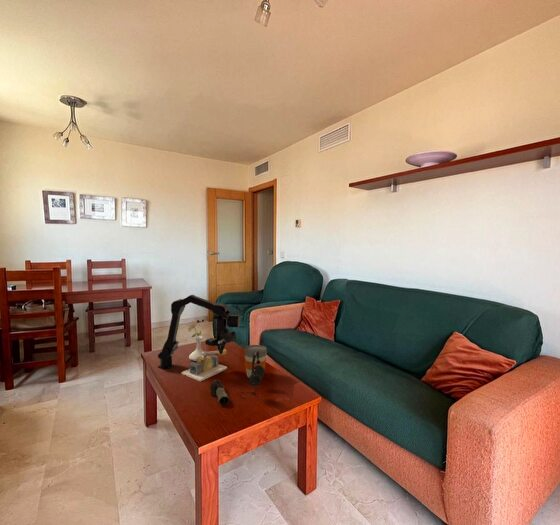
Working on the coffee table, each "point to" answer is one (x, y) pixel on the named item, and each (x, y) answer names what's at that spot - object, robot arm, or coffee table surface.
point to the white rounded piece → (198, 338)
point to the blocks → (203, 364)
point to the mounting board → (205, 373)
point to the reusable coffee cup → (249, 357)
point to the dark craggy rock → (219, 392)
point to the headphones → (255, 372)
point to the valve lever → (212, 353)
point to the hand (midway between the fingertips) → (220, 354)
